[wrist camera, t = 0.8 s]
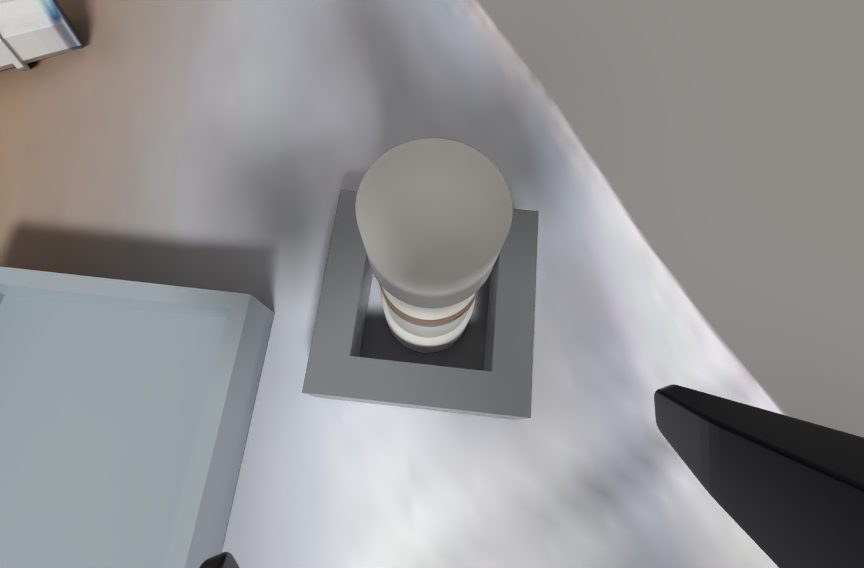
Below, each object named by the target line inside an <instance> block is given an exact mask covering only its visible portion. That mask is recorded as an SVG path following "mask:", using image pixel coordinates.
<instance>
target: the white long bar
mask: <svg viewBox="0 0 864 568" xmlns="http://www.w3.org/2000/svg"><path fill="white" fill-rule="evenodd" d="M80 48H83V46H82V44H81V42H80V40H79V38H78V36H77V34H76V32H75V30H74V28H73V26H72V24H71V23H70V21H69V19H68V18H67V16H66V14H65V13H64V11H63V9H62V8H61V6H60V4H59V3H58V1H57V0H0V71H1V70H5V69H9V68H13V67H16V68H17V69H20V70H23V71H26V70H30V68H29V65H28V63H31V62H35V61H39V60H43V59H46V58H50V57H53V56H56V55H60V54H63V53H66V52H70V51H73V50H76V49H80Z"/></svg>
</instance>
